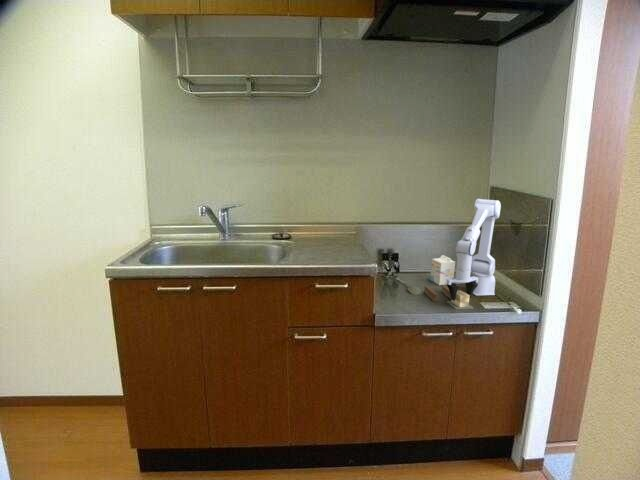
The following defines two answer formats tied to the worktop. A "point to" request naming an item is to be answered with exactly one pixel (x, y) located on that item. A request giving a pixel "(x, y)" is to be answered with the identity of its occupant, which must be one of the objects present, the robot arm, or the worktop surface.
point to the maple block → (461, 299)
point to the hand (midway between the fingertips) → (460, 299)
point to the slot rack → (434, 295)
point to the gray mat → (459, 307)
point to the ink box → (442, 270)
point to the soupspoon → (412, 288)
